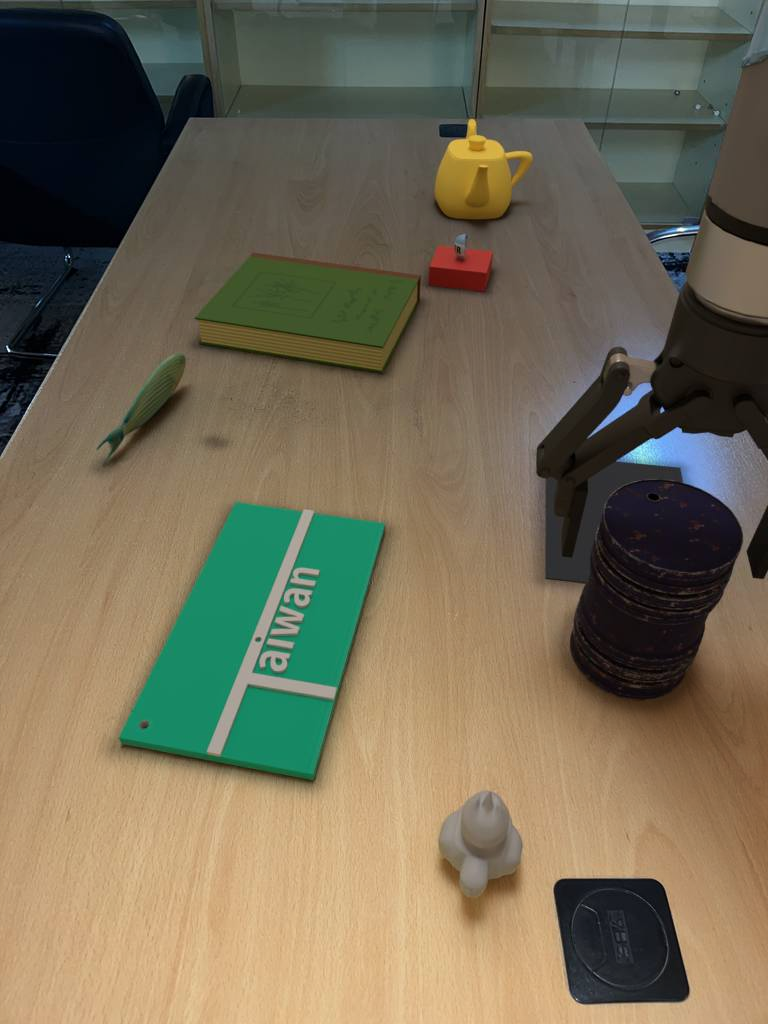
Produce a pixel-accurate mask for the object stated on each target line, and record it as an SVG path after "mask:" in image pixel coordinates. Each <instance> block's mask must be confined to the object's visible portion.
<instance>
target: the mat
mask: <svg viewBox="0 0 768 1024" xmlns="http://www.w3.org/2000/svg"><path fill="white" fill-rule="evenodd" d="M645 479H666V480H673V481H678V482H683V483H684V480H683V475H682V469H681V467H679V466H678V467H677V466H670V465H669V466H667V465H657V464H647V463H637V462H626V461H618V460H617V461H615V462H614V463H612V464H611V465H609V466H607V467H606V468H604V469H603V470H601V471H600V472H598V473H597V474H595V475H593V476H592V477H590V478H589V479H588V495H587V499H586V503H585V507H584V511H583V516H582V520H581V524H580V528H579V532H578V536H577V540H576V544H575V548H574V552H573V556H572V558H570V557H562V527H563V522H564V518H565V517H557V516H555V512H554V495H555V490H556V486H557V480H556V479H555V478H553V477H549V478H545V569H544V571H545V577H544V578H545V579H547V580H555V581H556V580H557V581H563V582H564V581H566V582H573V583H583V584H586V583H587V582H588V579H589V575H590V572H591V571H590V554H591V550H592V547H593V544H594V539H595V535H596V531H597V529H598V526H599V524H600V521H601V518H602V514H603V510H604V506H605V503H606V501H607V499H608V498H609V497H610V495H611V494H612V493H613V492H614V491H616V490H617V489H618V488H620V487H622V486H623V485H625V484H628V483H631V482H634V481H639V480H645Z"/></svg>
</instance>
